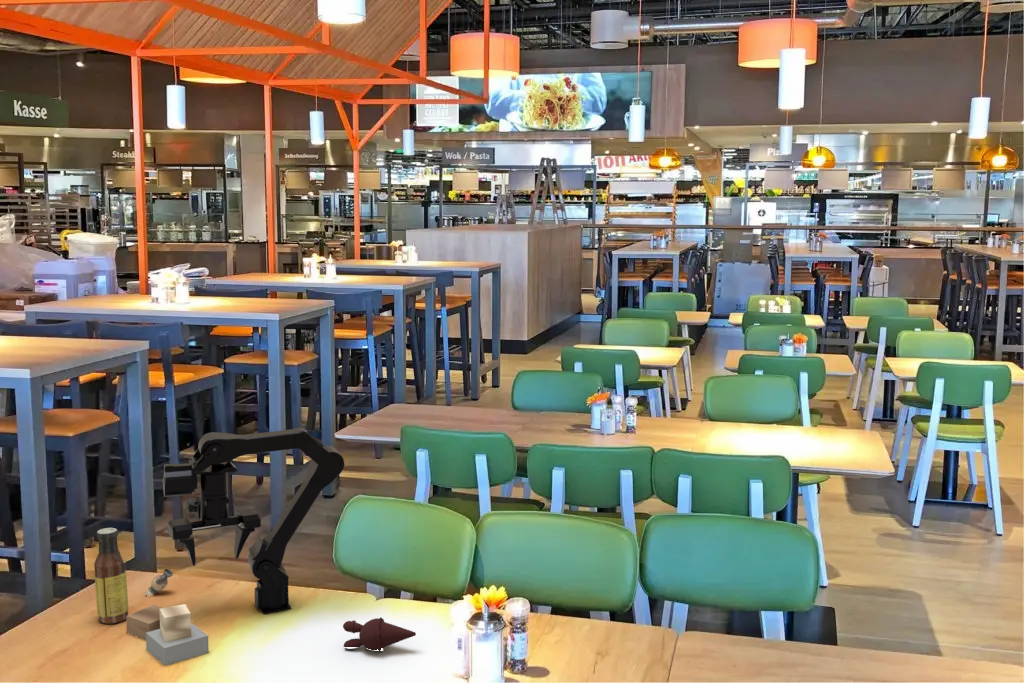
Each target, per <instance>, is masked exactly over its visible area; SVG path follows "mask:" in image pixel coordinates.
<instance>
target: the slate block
mask: <svg viewBox="0 0 1024 683" xmlns="http://www.w3.org/2000/svg"><path fill="white" fill-rule="evenodd" d="M145 648H146V649H145V650H146V651H147V652H148V653H149V654H151V655H152V657H154V658H155V659H156V660H157V661H158V662H160V663H161V664H162V665H163V666H164V667H166V666H170V665H173V664H175V663H176V664H177V663H179V662H182V661H186V660H189V659H193V658H197V657H200V656H202V655H206V654H209V634H207V633H205V631H203V630H202V629H200V628H199V627H198V626H196V625H195V624H194V623H192V622H191V637H189V638H184V639H178V640H173V641H168V642H165V641H164V639H163V637H162V635H161V633H160V629H157V630H154V631H150V632H147V633H146V640H145Z"/></svg>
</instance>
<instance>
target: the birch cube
mask: <svg viewBox="0 0 1024 683" xmlns="http://www.w3.org/2000/svg"><path fill="white" fill-rule="evenodd" d="M191 615H192V613H191V612H190V609H189V608H188V606H187V605H186V603H184V604H178V605H173V606H167V607H166V606H165V607H162V608H160V633H161V635H162V637H163V639H164V641H165V642H168V641H173V640H178V639H184V638H189V637H191V623H192V621H191V620H192V616H191Z"/></svg>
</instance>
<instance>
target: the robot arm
mask: <svg viewBox="0 0 1024 683" xmlns="http://www.w3.org/2000/svg"><path fill="white" fill-rule="evenodd" d="M197 447H198V448H197V449H196V451H195V452H194V453H193V454H192V456H191V458H190V459H189V461H188V463H187V462H186V463H164V465H163V468H164V470H163V477H162V487H163V490H162V491H163V497H164V498H165V497H175V496H176V497H177V496H190V495H193V493H194V492H196V490H198V476H199V496H198V501H197V498H196V497H190V498H185V512H186V514H193V513H194V516H195V517H196V518H197V519H199V521H198V520H197V521H191V522H190V520H189V519H188V518H187V517H182V518H176V519H169V521H168V523H167V525H166V528H167V529H166V532H167V534H168V535H169V537H170V538H171V539H172V540H175V541H178V542H179V543H181V544H183V546H184V547H185V549H186V552H187V555H188V557H189V560H190V564H192V566H193V567H195V566H196V562H197V560H196V548H195V538H194V537H193V536H192V535H193V533H194V532H197V531H202V530H210V529H216V528H217V529H218V528H223V527H228V526H231V527H232V526H234V531H235V535H234V536H235V537H234V549H233V551H234V552H233V554H234V558H235V559H236V560H238V559H239V557H240V555H241V553H242V550H243V547H244V546H245V543H246V542H247V540H248V538H249V536H250V535H251V533H253V532H255V531H256V528H261V526H262V525H261V524H262V523H261V522H262V520H261V516H260V514H258V513H257V512H256V511H255V509H253V508H246V509H245V508H244V509H237V510H236V511H235V512H234V513H235V515H233V516H232V515H231V516H229V504H230V498H229V489H228V486H229V485H228V484H229V483H228V473H236V472H237V471H238V468H237V466H236V465H235V463H233V462H231V461H233V460H235V459H237V458H239V457H243V456H245V455H252V454H253V455H254V454H262V453H268V452H269V453H270V452H278V451H286V450H287V451H288V450H294V449H299V450H300V451H301V452H302V453H304V454H305V455H306V456H307V457H309V459H311V460H310V463H309V465H308V468H307V471H306V475H305V478H304V480H303V482H302V483H301V485H300V487H299V488H298V489H297V491H296V493H295V495H294V496H293V497H292V499H291V501H290V502H289V503H288V505H287V507H286V509H285V510H284V512H283V513H282V514H281V516H280V517H279V519H278V521H277V522H276V524H275V525H274V527H273V528H272V530H271V531H270V532H269V533H268V534H267V535H266V536H264V537H262V536H261V535H257V537H256V538H255V541H254V542H253V545H252V546H251V547H250V548H248V553H249V554H248V557H247V561H248V564H249V569H250V570H251V572H252V574H253V576H254V577H255V578H256V579H257V580H256V587H254V606H255V607H256V608H257V610H259V611H260V612H261V614H263V615H267V614H271V613H277V612H280V611H287V610H290V609H292V606H291V604H290V603H289V579H290V577H289V575H288V573H287V570H286V569H285V566H284V565H283V563H282V562H283V560H284V557H285V552H286V548H287V546H288V544H289V542H290V540H291V539H292V537H293V536H294V534H295V532H296V531H297V530H298V528H299V526H300V525H301V524H302V521H303V520H304V519H305V517H306V515H307V514H308V512H309V511H310V509H311V507H312V506H313V504H314V503H315V502H316V500H317V498H319V497H318V496H319V495H320V494H321V492H322V491H323V490H324V489H326V488H327V487H329V485H331V484H333V483H334V481H335V480H336V479H337V478H338V477H339V476H340V474H342V472H343V471H344V468H345V459H344V457H343V456H342V455H341V454H340V453H339V452H340V451H338V450H337V449H336V448H335V447H334V446H331V445H324V444H323V443H321V442H320V441H319V440H318V439H316V438H315V437H314V436H312V435H311V434H310V433H309V432H308V431H307V430H306V429H305V428H303V427H295V428H292V429H284V430H282V429H281V430H274V431H268V432H267V431H265V432H257V433H249V434H235V433H229V432H215V431H214V432H213V431H211V432H208V433H205V434H203V436H201V438H200V439H199V442H198V446H197Z"/></svg>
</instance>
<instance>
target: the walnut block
mask: <svg viewBox="0 0 1024 683" xmlns="http://www.w3.org/2000/svg"><path fill="white" fill-rule="evenodd" d="M160 608H163V607H162V606H159V605H156V604H152V605H150V606H147V607H145V608H141V609H140V610H137V611H134V612H132V613H131V614H128V615H127V616H126V619H125V620H126V633H127V634H128V633H129V634H128V635H131V634H132V635H131V636H133V635H134V636H133V637H136V636H137V637H136V638H138V639H142V640H144V641H146V633H147V632H150V631H154V630H157V629H160Z"/></svg>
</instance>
